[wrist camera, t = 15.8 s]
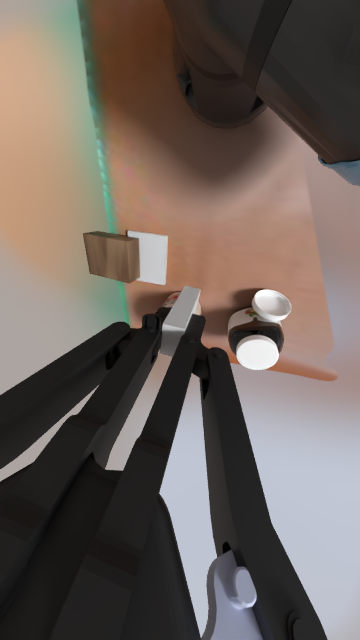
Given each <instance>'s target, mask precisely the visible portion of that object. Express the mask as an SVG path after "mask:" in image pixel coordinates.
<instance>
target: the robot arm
mask: <svg viewBox="0 0 360 640" xmlns="http://www.w3.org/2000/svg"><path fill="white" fill-rule="evenodd" d="M164 2H165V5H166V8H167V10H168V13H169V16H170V18H171V21H172V24H173V57H174V64H175V70H176V74H177V78H178V82H179V85H180V88H181V90H182V93H183V95H184V97H185V99H186V101H187V103H188V104H189V106H190V108H191V109H192V111H193V112H194V113H195V114H196V115H197V116H198V117H199V118H200V119H201V120H202V121H204V122H205V123H207V124H209V125H211V126H214V127H217V128H233V127H237V126H240V125H243V124H245V123H247V122H249V121H251V120H252V119H254V118H255V117H256V116H258V115H259V114H260V113H261V112H262V111H264V110H265V109H266V108H267V107H268V106H269V107H270V108H271V109H272V110H273V111H274V112H275V113H276V114H277V115H278V116H279V117H280V118H281V119H282V120H283V121H284V122H285V123H286V124H287V125H288V126H289V127H290V128H291V129H292V130H293V131H294V132H295V133H296V134H297V135H298V136H299V137H300V138H302V139H303V140H304V141H305V142H306V143H307V144H308V145H309V146H310V147H311V148H312V149H313V150H314V151H315V152H316V153H317V154H318V159H319V161H320V163H321V164H322V165H324V166H327V167H328V168H331V169H333V170H334V171H336V172H337V173H338V174H339V175H340V176H341V177H343V178H344V179H345V180H346V181H347V182H349V183H351V184H353V185H358V186H360V0H164ZM200 290H201V289H197V288H193V287H188V286H185V287H184V289H183V290H182V292H181V294H180V295H179V297H178V299H177V300H176V302H175V304H174V305H173V307H172V308H168V307H164V306H163V307H161V308H159V309H158V311H157V312H156V313H155V314H146V315H144V316H143V318H142V327H141V328H139V329H135V328H130V326H129V324H127V323H125V322H116V323H113V324H111V325H110V326H109V327H107V328H105V329H104V330H102V331H100V332H99V333H97V334H96V335H94V336H93V337H91V338H90V339H88V340H86V341H85V342H83V343H82V344H80V345H79V346H77V347H75V348H74V349H72V350H71V351H69V352H68V353H66V354H64V355H63V356H61V357H60V358H58V359H57V360H55V361H53V362H52V363H50V364H49V365H47V366H46V367H44V368H43V369H41V370H39V371H38V372H36V373H35V374H33V375H31V376H30V377H28V378H27V379H25V380H24V381H22V382H20V383H19V384H17V385H16V386H14V387H13V388H11V389H9V390H8V391H6V392H5V393H3V394H2V395H0V469H1V468H3V467H5V466H6V465H7V464H9V463H10V462H11V461H13V460H14V459H16V458H17V457H18V456H19V455H20V454H22V453H23V452H24V451H25V450H27V449H28V448H29V447H30V446H31V445H32V444H33V443H34V442H36V441H37V440H38V439H39V438H40V437H41V436H42V435H44V433H46V432H47V431H48V430H49V429H50V428H51V427H52V426H53V425H54V424H56V423H57V422H58V421H59V420H60V419H61V418H62V417H64V416H65V414H67V413H68V412H69V411H70V410H71V409H72V408H74V407H75V406H76V405H77V404H78V403H79V402H80V401H81V400H82V399H83V398H85V397H86V396H87V395H88V394H89V393H90V392H91V391H92V390H94V389H95V388H96V387H97V386H98V385H99V384H100V385H99V386H98V388H97V389H96V390H95V392H94V393H93V394H92V396H91V397H90V399H89V400H88V401H87V403H86V404H85V405H84V407H83V408H82V409H81V411H80V412H79V413H78V414H77V415H72V416H70V417H69V418H68V419H67V420H66V421H65V422H64V423H63V425H62V426H61V427H60V428H59V430H58V431H57V432H56V434H55V435H54V437H53V438H52V439H51V440H50V442H49V443H48V444H47V445H46V447H45V448H44V450H43V451H42V452H41V453H40V455H39V456H38V457H37V459H36V460H35V461H34V462H33V463H31V464H30V465H28V466H26V467H25V468H23V469H21V470H19V471H18V472H16V473H14V474H13V475H11V476H9V477H7V478H6V479H4V480H2V481H1V482H0V640H327V637H326V635H325V632H324V629H323V627H322V624H321V622H320V620H319V618H318V616H317V614H316V612H315V610H314V608H313V606H312V604H311V602H310V600H309V598H308V596H307V594H306V592H305V590H304V588H303V586H302V584H301V582H300V580H299V578H298V576H297V574H296V572H295V570H294V568H293V566H292V564H291V562H290V560H289V558H288V556H287V554H286V552H285V549H284V548H283V545H282V543H281V541H280V539H279V538H278V535H277V533H276V531H275V529H274V528H273V525H272V523H271V519H270V516H269V512H268V508H267V504H266V500H265V497H264V492H263V489H262V485H261V481H260V477H259V473H258V469H257V466H256V462H255V458H254V454H253V451H252V446H251V443H250V439H249V435H248V431H247V427H246V423H245V420H244V416H243V412H242V408H241V404H240V400H239V396H238V392H237V389H236V385H235V381H234V377H233V373H232V369H231V366H230V362H229V358H228V355H227V353H226V352H225V351H224V350H222V349H221V348H217V347H213V348H210V349H208V348H206V347H205V346H204V345H203V344H202V343H201V336H202V332H203V328H204V325H205V321H206V320H205V318H204V316H200V315H196V314H195V313H196V308H197V304H198V299H199V295H200ZM159 349H160V353H162V354H165V355H168V356H172V357H173V358H172V361H171V363H170V365H169V367H168V370H167V372H166V375H165V377H164V380H163V382H162V385H161V387H160V389H159V392H158V394H157V397H156V399H155V402H154V404H153V406H152V409H151V411H150V413H149V416H148V418H147V421H146V423H145V426H144V428H143V430H142V433H141V435H140V437H139V438H138V439H137V440H136V442H135V444H134V446H133V448H132V451H131V453H130V455H129V458H128V460H127V463H126V465H125V467H124V470H123V471H118V470H117V471H116V470H105V467H106V465H107V462H108V458H109V455H110V452H111V449H112V447H113V445H114V443H115V441H116V439H117V437H118V435H119V433H120V431H121V429H122V427H123V425H124V423H125V421H126V419H127V417H128V415H129V413H130V411H131V409H132V407H133V405H134V403H135V401H136V399H137V397H138V395H139V393H140V391H141V389H142V387H143V385H144V383H145V381H146V379H147V377H148V375H149V373H150V371H151V369H152V367H153V365H154V363H155V361H156V359H157V356H158V351H159ZM191 373H193V374H194V375H196V376H198V377H199V378H200V391H201V404H202V416H203V428H204V438H205V439H204V440H205V452H206V464H207V477H208V489H209V501H210V514H211V523H212V530H213V538H214V543H215V547H216V553H217V558H216V559H215V560H214V561H213V562H212V564H211V566H210V567H209V571H208V575H207V595H208V604H209V610H208V621H207V625H206V629H205V632H204V634H203V636H202V638H201V637H200V633H199V629H198V625H197V621H196V617H195V613H194V609H193V605H192V601H191V597H190V593H189V589H188V585H187V581H186V577H185V573H184V569H183V565H182V561H181V557H180V553H179V549H178V545H177V541H176V537H175V533H174V529H173V525H172V521H171V517H170V514H169V511H168V508H167V506H166V504H165V502H164V500H163V498H162V497H161V495H160V494H159V492H160V488H161V484H162V480H163V477H164V473H165V469H166V465H167V462H168V458H169V455H170V451H171V447H172V443H173V440H174V436H175V432H176V429H177V425H178V421H179V417H180V414H181V410H182V406H183V402H184V399H185V395H186V392H187V388H188V384H189V381H190V377H191Z"/></svg>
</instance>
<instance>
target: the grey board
mask: <svg viewBox="0 0 360 640" xmlns="http://www.w3.org/2000/svg"><path fill="white" fill-rule="evenodd" d="M128 237H134V238H139V255H140V278H138V279H136V280H139V281H144V282H150V283H155V284H161V285H165V284H166V268H167V248H168V235H162V234H155V233H148V232H140V231H133V230H128Z"/></svg>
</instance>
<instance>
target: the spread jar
mask: <svg viewBox="0 0 360 640" xmlns="http://www.w3.org/2000/svg"><path fill="white" fill-rule="evenodd" d="M252 306H253V307H247V308H244V309H241V310H239V311H237V312H235V313H234V314H233V315H232V316H231V317H230V319H229V323H228V341H229V345H230V348H231V350H232V352H233V353H234V354H235V355H236V356H237V359H238V361H239V362H240V364H242V365H243V366H244V367H247V368H249V369H253V370H263V369H267V368H269V367H271V366H273V365H274V364H275V363H276V362H277V360H278V357H279V353H280V352H281V350H282V347H283V343H284V335H283V330H282V326H281V323H280V320H283V319H284V318H286V317H287V315H288V314H289V313H290V311H291V304H290V302H289V300H288V299H287V298H286V297H285V296H284V295H282V294H281V293H279V292H277V291H274V290H268V289H265V290H260V291H258V292H257V293H256V294H255V296H254V298H253V300H252Z"/></svg>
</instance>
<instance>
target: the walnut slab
mask: <svg viewBox="0 0 360 640" xmlns="http://www.w3.org/2000/svg"><path fill="white" fill-rule="evenodd" d="M83 237H84V243H85V248H86V254H87V259H88V265H89V271H90V274H94V275H98V276H102V277H106V278H110V279H115V280H118V281H122V282H126V283H131V282H133V281H135V280H136V279H138V278H140V255H139V238H134V237H128V236H123V235H117V234H111V233H105V232H99V231H96V232H89V233H84V234H83Z"/></svg>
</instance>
